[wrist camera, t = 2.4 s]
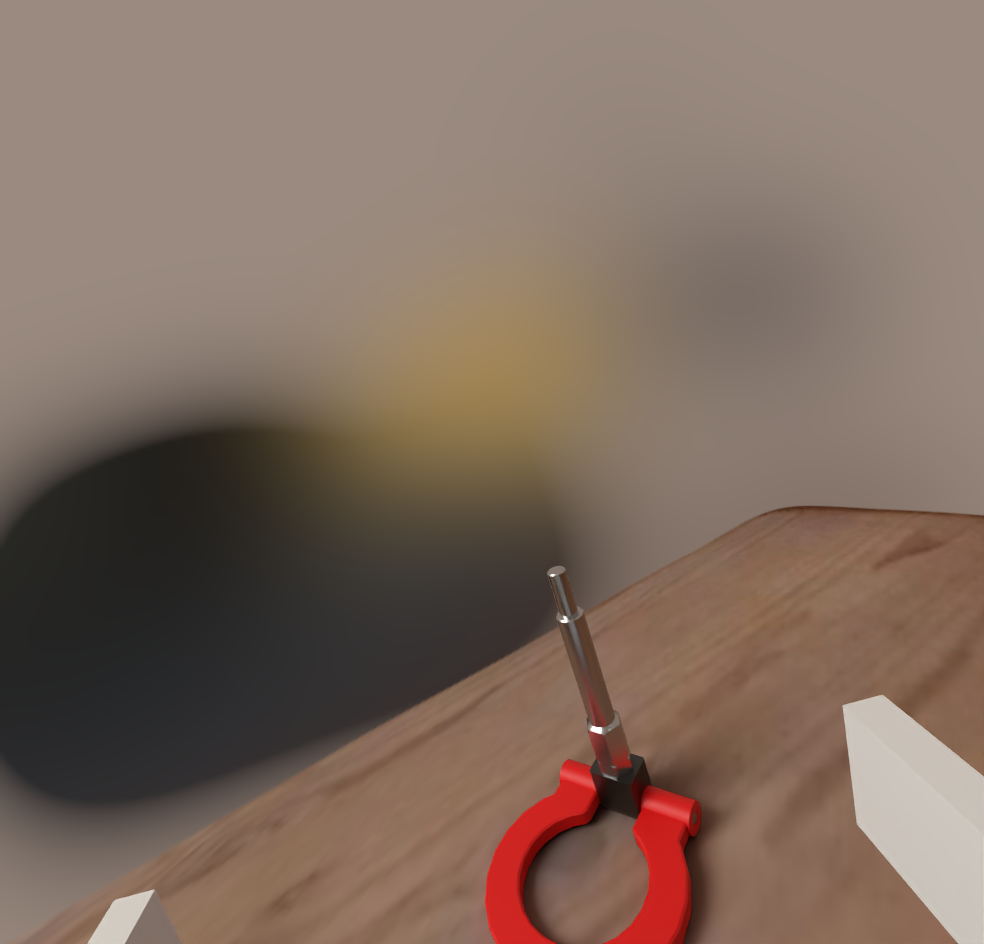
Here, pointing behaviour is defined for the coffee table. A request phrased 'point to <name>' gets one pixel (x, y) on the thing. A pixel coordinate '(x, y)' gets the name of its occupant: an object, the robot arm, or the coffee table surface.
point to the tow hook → (575, 801)
